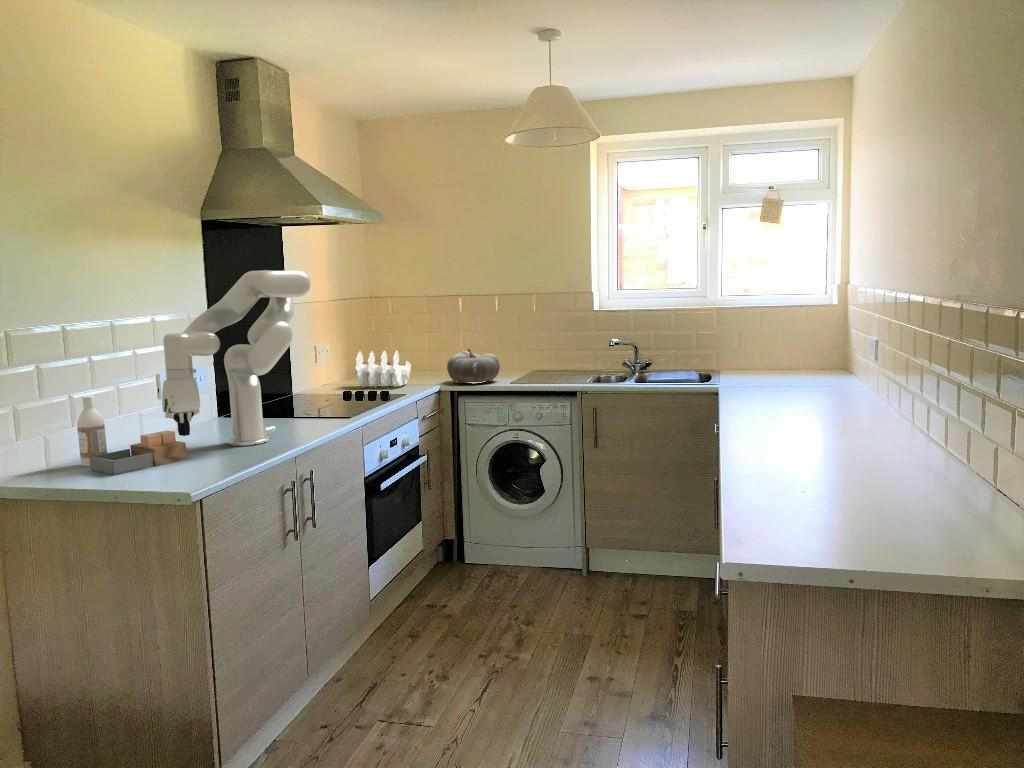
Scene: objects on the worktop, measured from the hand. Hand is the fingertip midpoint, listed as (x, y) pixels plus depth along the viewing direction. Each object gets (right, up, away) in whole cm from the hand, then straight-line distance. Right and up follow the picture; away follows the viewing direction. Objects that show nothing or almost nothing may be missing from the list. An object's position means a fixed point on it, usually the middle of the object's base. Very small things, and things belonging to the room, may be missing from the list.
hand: (184, 435), depth 242 cm
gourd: (+81, +16, +149) cm, 170 cm away
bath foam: (-22, -8, -9) cm, 25 cm away
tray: (-11, -9, -15) cm, 21 cm away
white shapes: (+37, +14, +143) cm, 148 cm away
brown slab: (-5, -7, -6) cm, 11 cm away
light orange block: (-6, -2, -9) cm, 11 cm away
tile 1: (-3, -2, -5) cm, 6 cm away
